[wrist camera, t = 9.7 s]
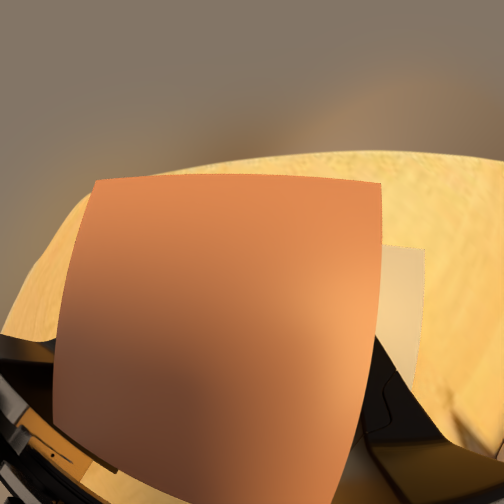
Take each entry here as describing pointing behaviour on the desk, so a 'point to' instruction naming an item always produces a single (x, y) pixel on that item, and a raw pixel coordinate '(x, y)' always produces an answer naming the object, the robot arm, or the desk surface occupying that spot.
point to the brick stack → (221, 332)
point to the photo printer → (501, 454)
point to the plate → (401, 307)
